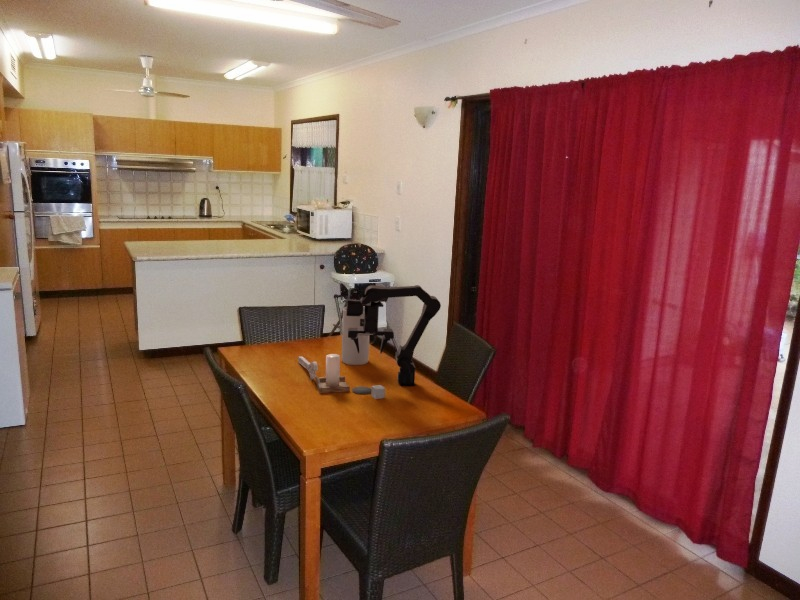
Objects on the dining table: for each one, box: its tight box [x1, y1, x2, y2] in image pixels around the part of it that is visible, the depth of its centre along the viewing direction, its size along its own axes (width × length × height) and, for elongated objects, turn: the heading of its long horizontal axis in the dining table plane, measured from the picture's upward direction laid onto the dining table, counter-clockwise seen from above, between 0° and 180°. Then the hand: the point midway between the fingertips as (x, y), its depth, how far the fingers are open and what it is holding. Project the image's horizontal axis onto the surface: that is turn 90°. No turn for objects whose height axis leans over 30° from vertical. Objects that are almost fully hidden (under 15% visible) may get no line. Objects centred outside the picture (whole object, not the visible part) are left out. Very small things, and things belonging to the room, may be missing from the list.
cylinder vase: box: [341, 306, 371, 366], centre depth 266 cm, size 12×12×25 cm
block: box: [370, 384, 386, 400], centre depth 227 cm, size 4×4×4 cm
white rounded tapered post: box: [325, 353, 341, 387], centre depth 234 cm, size 6×6×12 cm
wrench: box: [297, 355, 319, 380], centre depth 250 cm, size 8×2×30 cm
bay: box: [315, 375, 350, 394], centre depth 235 cm, size 12×12×2 cm
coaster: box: [351, 386, 372, 395], centre depth 233 cm, size 8×8×1 cm
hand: (369, 353), depth 239 cm, fingers open, 9 cm apart
